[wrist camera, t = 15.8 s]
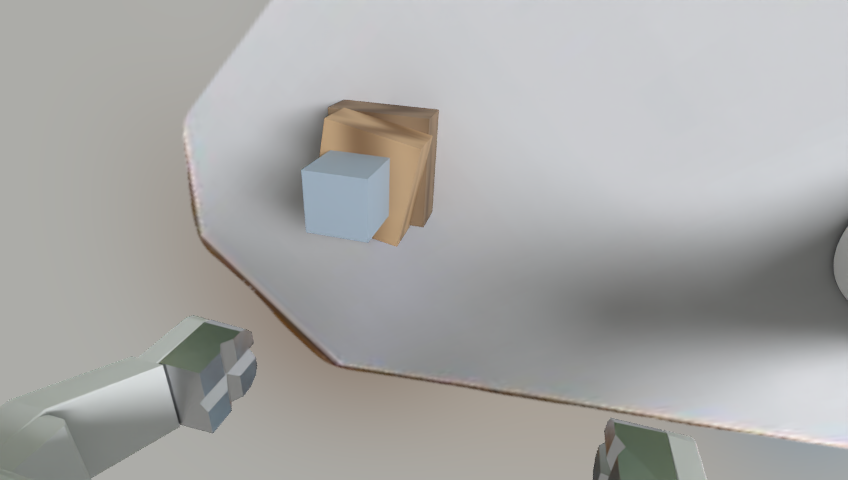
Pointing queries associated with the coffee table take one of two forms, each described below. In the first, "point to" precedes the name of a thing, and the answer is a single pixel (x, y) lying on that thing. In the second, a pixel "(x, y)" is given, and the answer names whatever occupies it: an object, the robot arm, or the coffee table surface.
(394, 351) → the coffee table surface
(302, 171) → the slate cube
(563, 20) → the coffee table surface
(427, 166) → the walnut block
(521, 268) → the coffee table surface
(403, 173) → the teak block
